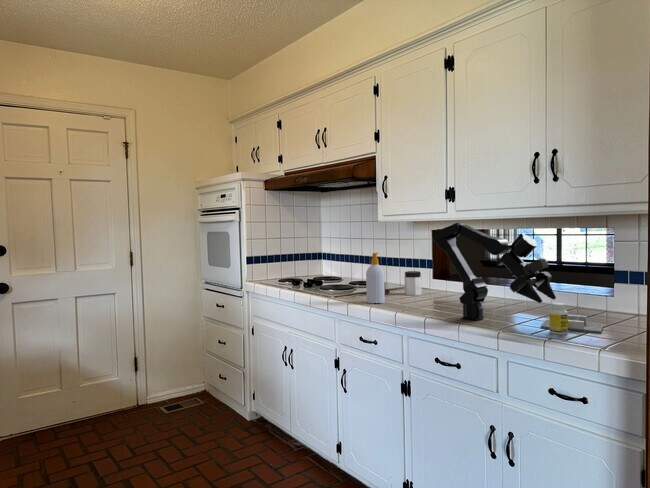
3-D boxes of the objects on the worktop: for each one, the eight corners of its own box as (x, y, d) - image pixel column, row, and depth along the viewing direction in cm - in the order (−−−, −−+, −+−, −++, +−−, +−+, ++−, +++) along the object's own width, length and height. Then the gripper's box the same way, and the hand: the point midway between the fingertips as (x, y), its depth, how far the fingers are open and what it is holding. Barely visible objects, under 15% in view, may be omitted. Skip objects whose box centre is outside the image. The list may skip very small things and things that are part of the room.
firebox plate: (540, 328, 162) (540, 318, 161) (546, 321, 172) (546, 312, 171) (600, 333, 152) (600, 323, 151) (603, 326, 162) (603, 317, 161)
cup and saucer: (394, 293, 252) (394, 282, 251) (380, 296, 243) (380, 284, 243) (377, 291, 260) (376, 280, 260) (363, 294, 252) (362, 283, 251)
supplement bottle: (562, 335, 150) (562, 305, 150) (546, 332, 155) (546, 303, 154) (571, 333, 154) (570, 303, 153) (554, 330, 158) (554, 301, 158)
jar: (412, 296, 240) (412, 273, 239) (401, 294, 246) (401, 272, 246) (424, 294, 245) (424, 271, 244) (413, 292, 251) (412, 270, 251)
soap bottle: (387, 301, 226) (386, 252, 225) (381, 304, 217) (380, 253, 217) (370, 300, 230) (369, 252, 229) (364, 303, 221) (363, 253, 220)
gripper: (517, 252, 154) (551, 287, 146) (545, 249, 166) (578, 282, 158) (496, 274, 161) (527, 309, 153) (525, 270, 172) (555, 302, 164)
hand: (548, 300), depth 157 cm, fingers open, 9 cm apart
